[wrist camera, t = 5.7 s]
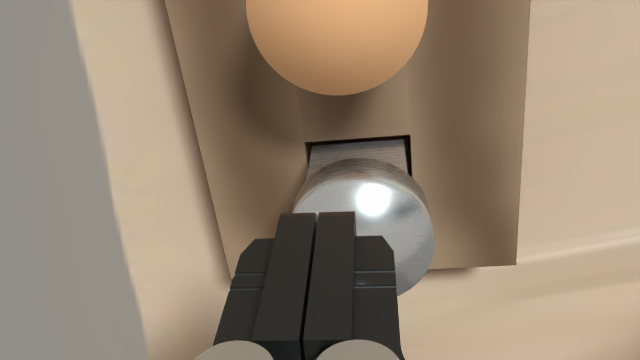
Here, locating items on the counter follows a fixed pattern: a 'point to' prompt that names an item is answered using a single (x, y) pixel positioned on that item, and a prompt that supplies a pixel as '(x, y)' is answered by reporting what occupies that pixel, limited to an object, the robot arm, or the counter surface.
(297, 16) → the knob mid
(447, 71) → the knob mount
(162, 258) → the counter surface
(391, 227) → the knob
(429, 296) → the counter surface
